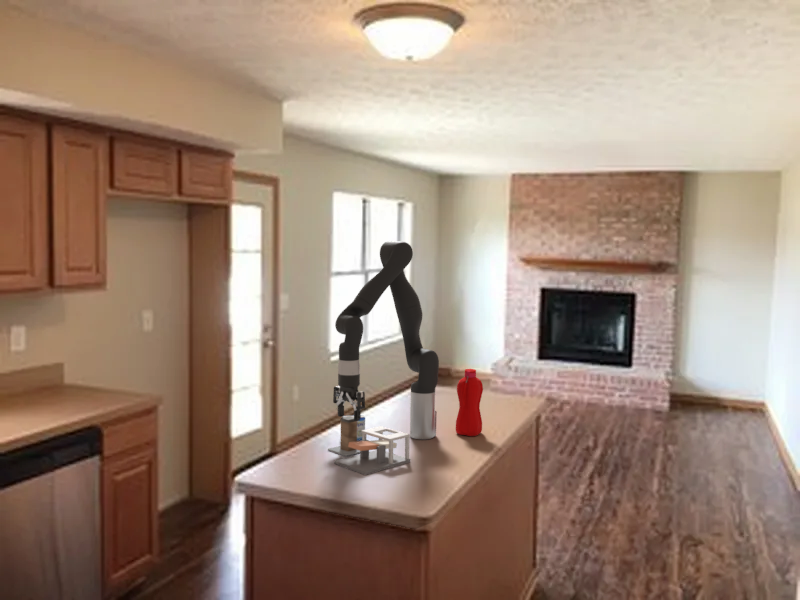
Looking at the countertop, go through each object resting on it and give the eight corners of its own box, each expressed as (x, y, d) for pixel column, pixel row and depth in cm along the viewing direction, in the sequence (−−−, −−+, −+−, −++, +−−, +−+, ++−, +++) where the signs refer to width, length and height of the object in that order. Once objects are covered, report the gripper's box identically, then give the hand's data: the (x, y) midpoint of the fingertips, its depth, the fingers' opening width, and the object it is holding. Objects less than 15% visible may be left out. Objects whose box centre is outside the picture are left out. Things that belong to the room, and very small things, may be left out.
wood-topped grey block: (349, 446, 251) (349, 416, 251) (356, 449, 249) (357, 418, 248) (340, 449, 249) (340, 417, 248) (347, 451, 246) (348, 420, 245)
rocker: (383, 444, 242) (384, 439, 242) (396, 447, 238) (396, 443, 238) (348, 446, 231) (348, 442, 231) (360, 450, 227) (361, 446, 227)
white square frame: (379, 452, 247) (379, 425, 247) (410, 462, 237) (410, 434, 236) (334, 463, 233) (334, 435, 233) (365, 474, 223) (365, 445, 222)
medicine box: (343, 441, 260) (344, 418, 260) (341, 438, 264) (341, 415, 264) (365, 440, 262) (365, 417, 262) (362, 437, 267) (362, 414, 266)
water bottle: (451, 435, 271) (452, 370, 269) (462, 429, 281) (463, 366, 279) (473, 439, 267) (475, 372, 265) (484, 432, 276) (486, 368, 274)
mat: (349, 445, 256) (349, 443, 256) (368, 451, 249) (368, 449, 248) (327, 450, 249) (327, 448, 249) (346, 456, 242) (346, 455, 242)
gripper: (370, 373, 244) (370, 420, 245) (344, 368, 254) (343, 413, 256) (354, 376, 239) (354, 424, 240) (327, 370, 249) (327, 416, 250)
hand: (348, 418), depth 248 cm, fingers open, 8 cm apart
